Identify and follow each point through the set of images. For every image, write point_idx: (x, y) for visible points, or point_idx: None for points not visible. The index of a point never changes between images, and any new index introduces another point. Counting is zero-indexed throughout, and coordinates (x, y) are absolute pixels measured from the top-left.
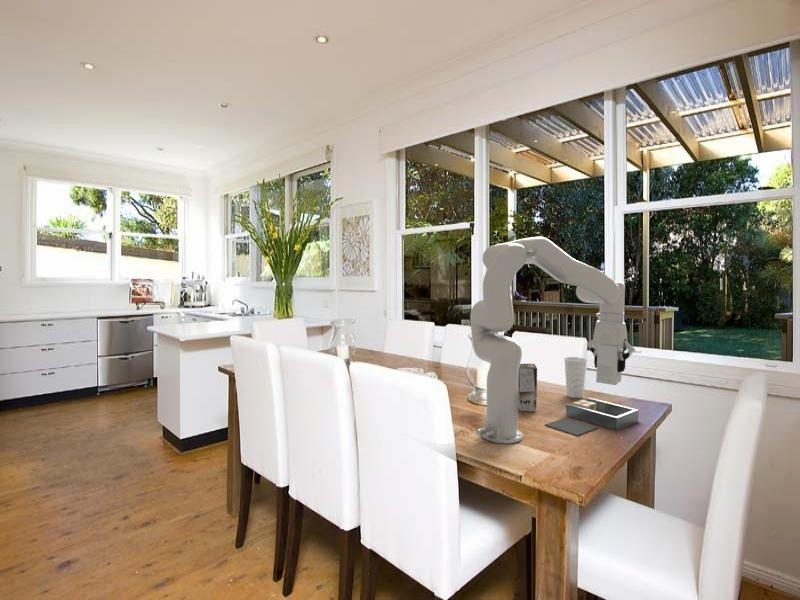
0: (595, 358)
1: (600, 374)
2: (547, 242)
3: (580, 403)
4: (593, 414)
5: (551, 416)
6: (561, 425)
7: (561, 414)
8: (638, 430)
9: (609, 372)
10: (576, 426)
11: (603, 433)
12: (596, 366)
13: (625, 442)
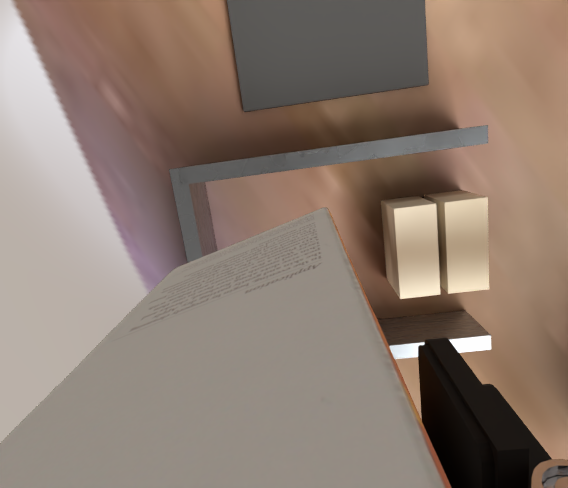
0: (496, 415)
1: (289, 235)
2: None
3: (449, 220)
4: (304, 150)
5: (495, 38)
6: None
7: (483, 118)
8: (145, 247)
9: (191, 284)
10: (302, 10)
11: (185, 69)
12: (426, 346)
13: (63, 59)
